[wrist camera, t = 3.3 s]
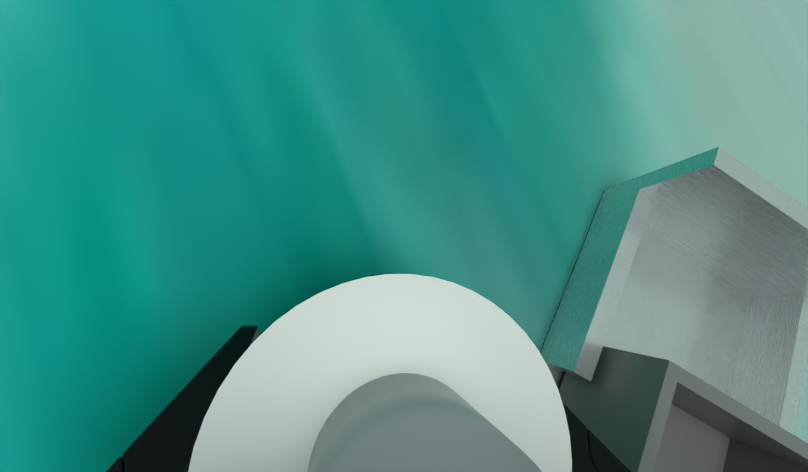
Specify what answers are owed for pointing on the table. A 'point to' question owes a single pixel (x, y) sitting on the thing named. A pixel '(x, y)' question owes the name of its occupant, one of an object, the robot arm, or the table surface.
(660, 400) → the grey and tan box
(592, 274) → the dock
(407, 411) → the bottle
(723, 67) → the table surface
